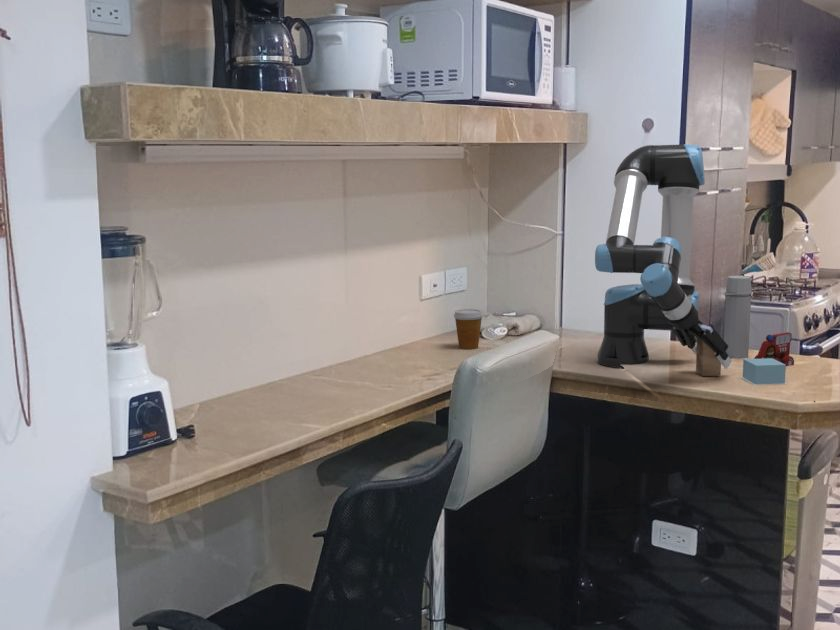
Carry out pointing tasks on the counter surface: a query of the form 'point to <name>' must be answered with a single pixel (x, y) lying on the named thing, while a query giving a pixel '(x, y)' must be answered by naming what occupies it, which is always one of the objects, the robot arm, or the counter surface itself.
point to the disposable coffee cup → (468, 327)
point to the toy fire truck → (777, 348)
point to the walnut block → (707, 360)
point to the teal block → (764, 371)
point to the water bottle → (737, 316)
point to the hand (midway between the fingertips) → (716, 362)
